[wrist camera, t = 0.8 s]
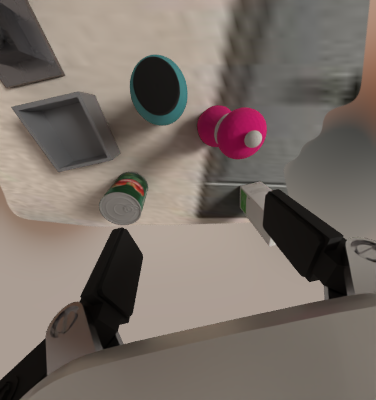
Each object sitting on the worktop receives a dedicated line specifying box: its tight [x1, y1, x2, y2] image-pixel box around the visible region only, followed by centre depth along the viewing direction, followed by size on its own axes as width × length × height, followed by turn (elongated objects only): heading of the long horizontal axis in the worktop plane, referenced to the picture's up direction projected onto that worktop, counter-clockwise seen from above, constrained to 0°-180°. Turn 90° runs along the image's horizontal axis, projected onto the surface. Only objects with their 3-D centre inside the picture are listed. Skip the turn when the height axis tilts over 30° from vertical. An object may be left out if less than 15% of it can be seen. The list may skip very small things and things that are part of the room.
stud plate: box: [0, 0, 65, 88], centre depth 21 cm, size 10×10×4 cm
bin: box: [11, 92, 120, 172], centre depth 27 cm, size 11×11×6 cm
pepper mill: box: [197, 105, 267, 159], centre depth 23 cm, size 7×7×20 cm
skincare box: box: [240, 181, 276, 246], centre depth 36 cm, size 8×7×16 cm
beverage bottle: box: [130, 55, 187, 126], centre depth 20 cm, size 6×7×20 cm
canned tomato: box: [99, 172, 148, 225], centre depth 33 cm, size 8×8×11 cm
